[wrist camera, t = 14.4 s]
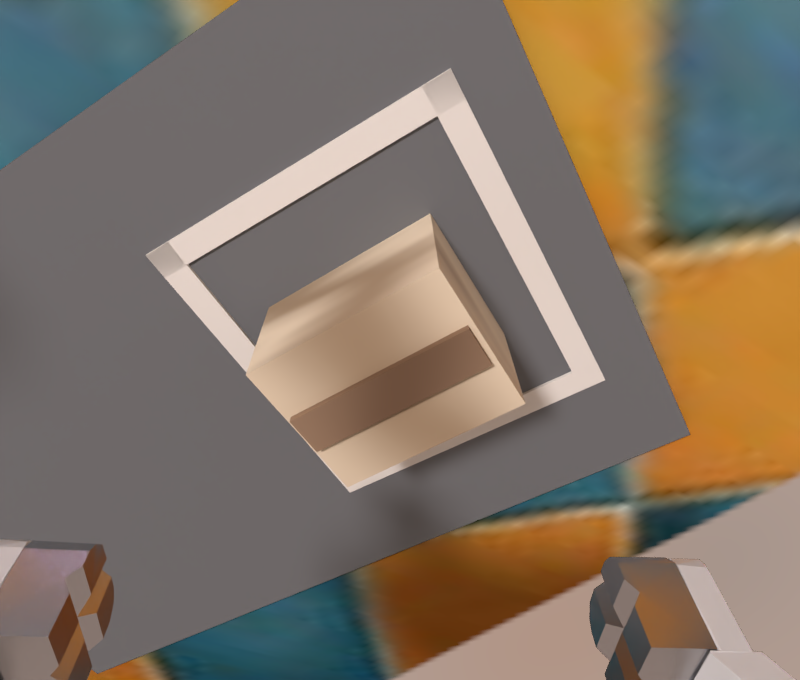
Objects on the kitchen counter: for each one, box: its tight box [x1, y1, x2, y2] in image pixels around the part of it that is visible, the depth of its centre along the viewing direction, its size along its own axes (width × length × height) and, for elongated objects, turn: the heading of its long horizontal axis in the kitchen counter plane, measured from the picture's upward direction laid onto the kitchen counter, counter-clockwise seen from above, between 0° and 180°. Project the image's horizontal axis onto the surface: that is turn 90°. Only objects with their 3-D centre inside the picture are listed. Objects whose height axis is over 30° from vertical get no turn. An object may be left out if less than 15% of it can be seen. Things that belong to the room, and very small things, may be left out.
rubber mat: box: [0, 0, 690, 674], centre depth 21 cm, size 27×18×1 cm, turn 120°
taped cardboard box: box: [246, 214, 526, 487], centre depth 17 cm, size 6×4×4 cm
